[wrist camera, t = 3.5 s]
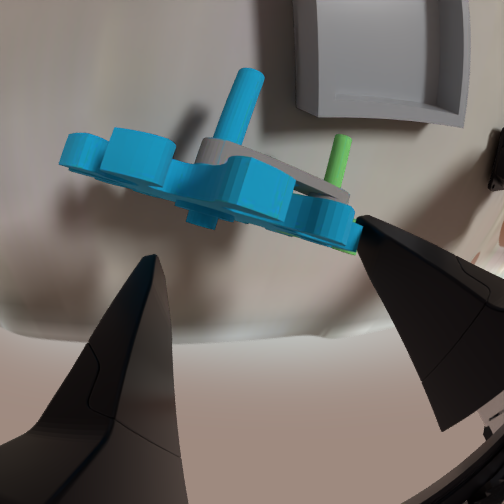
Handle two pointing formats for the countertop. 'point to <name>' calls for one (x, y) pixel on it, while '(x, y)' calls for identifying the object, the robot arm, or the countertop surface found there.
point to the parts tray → (383, 59)
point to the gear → (227, 176)
